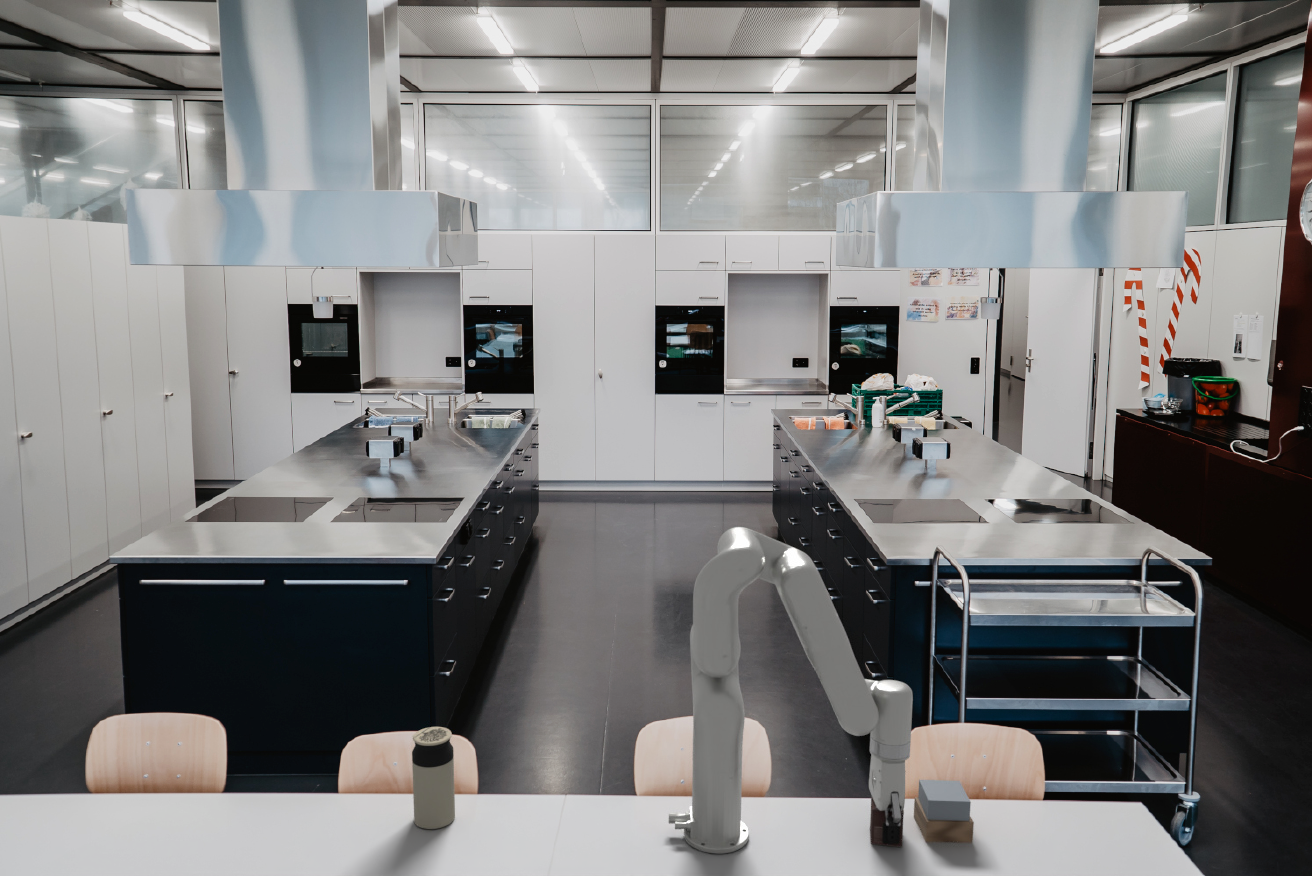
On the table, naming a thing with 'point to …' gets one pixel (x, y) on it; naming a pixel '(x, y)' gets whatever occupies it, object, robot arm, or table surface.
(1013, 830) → the table surface
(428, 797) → the travel mug
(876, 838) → the box
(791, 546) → the robot arm
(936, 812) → the tower top
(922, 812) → the tower base
